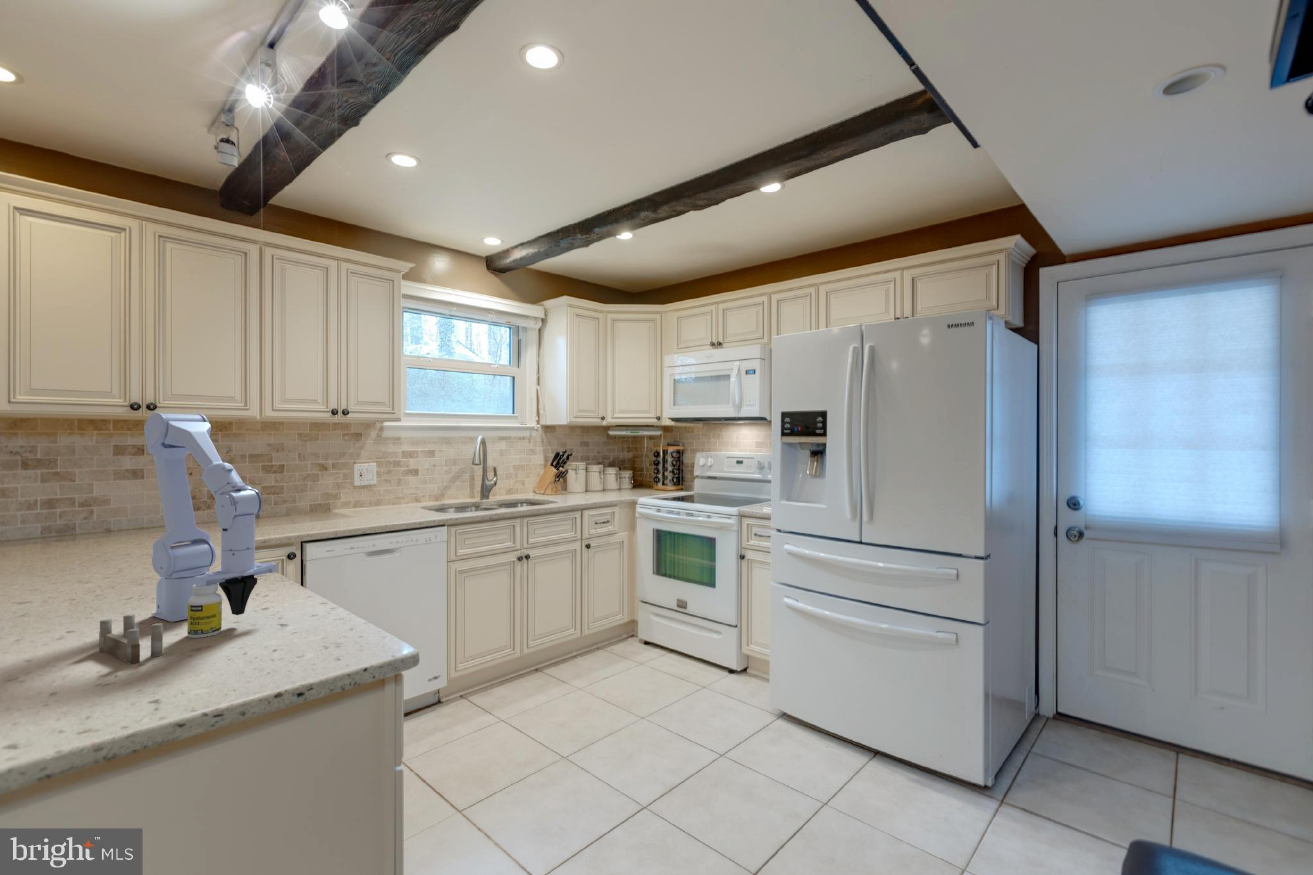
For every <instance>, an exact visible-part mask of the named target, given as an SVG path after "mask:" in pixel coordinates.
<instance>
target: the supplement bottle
mask: <svg viewBox="0 0 1313 875" xmlns="http://www.w3.org/2000/svg"><path fill="white" fill-rule="evenodd" d="M218 587H219V583H215V584H210V585H206V586H203V587H199V586H196V585H194V586H193V589H192V592H193V594H194V596H193V597H191V598H190V599H189V600H188V619H187V627H186V628H187V636H188V637H189V638H191V639H192V638H193V639H200V638H201V639H202V638H207V636H208V637H212V635H213V636H215V635H218V634H220V633H221V631H222V627H223V626H222V621H223V620H222V618H223V617H222V616H223V615H222V614H223V613H222V612H223V608H222V606H223V598H222V597H223V596H222V595H221V594H220V593H217V592H218V591H219V588H218Z"/></svg>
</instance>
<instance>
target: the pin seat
mask: <svg viewBox="0 0 1313 875" xmlns="http://www.w3.org/2000/svg"><path fill="white" fill-rule="evenodd" d="M122 619H123V621H122V622H123V630H122V631H123V632H122V633H123V636H120V635H118V634H115V633H113V628H112V627H113V626H112V624H113V620H112V618H111V619H110V618H107V619H102V620H100V621H99V634H98V635H99V636H98V637H99V638H98V641H99V643H98V644H99V645H98V646H99V647H98V651H99V653H105V654H107V655H110V656H112V657H115V658H117V659H120V660H122V661H124V662H126V664H132V665H133V664H138V663H140V662H141V658H140V657H141V654H140V653H141V643H140V628H136V626H135V625H136V614H134V613H132V614H131V613H130V614H126V615H125V614H124V615H123V618H122ZM163 624H164V623H162V622H161V623H159V622H158V623H154V624H151V625H150V657H151V658H157V657H161V656H162V655H163V654H164V653H163V644H164V642H163V633H164V632H163V631H164V629H163V628H164V627H163Z"/></svg>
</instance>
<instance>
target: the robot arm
mask: <svg viewBox="0 0 1313 875" xmlns="http://www.w3.org/2000/svg"><path fill="white" fill-rule="evenodd" d="M211 431H212V426H211V424H210V421H209V419H208V418H207V417H206V415H205V414H202V413H195V414H188V413H163V412H162V413H161V412H157V411H156V412H152V413H151V414H150V415H149V416H148V418H147V419H146V421H145V424H144V426H143V432H144V437H145V444H146V447H147V453H149V454H150V455H152V456H153V462H154V467H155V473H156V479H157V484H158V491H159V496H160V503H161V509H162V512H163V519H164V527H165V531H166V532H165V533H164V534H162V535H161V536H160V537H159V538H158V539H156V541H155V542H154V543H152V551H153V552H152V559H151V564H152V568H153V570H154V572H155V573H156V574H157V575H158V576H159V578H160V579H158V581H157V584H156V587H155V588H156V589H155V591H156V593H155V594H156V598H155V600H156V601H155V604H156V605H155V609H156V611H154V612H151V613H150V616H152V617H155V618H157V619H161V620H165V621H167V622H170V623H175V622H178V621H183V620H188V600H189V599H190V598H191V597H193V596H194V594H193V592H192V589H193V586H194V585H196V586H199V587H203V586H206V585H210V584H215V583H217V584H218V587H220V589H221V590H222V592H223V594H224V595H225V596H226V597H225V598H226V599H227V601H228V604H229V607H230V611H231V615H235V616H239V615H243V614H245V611H246V608H247V605H248V601H249V598H250V597H251V594H252V591H253V590H254V588H255V587H256V585H257V584H258V578H257V577H255V576H261V575H265V574H270V573H271V574H274V573H277V572H278V563H277V562H266V563H258V564H256V516H258V515H259V514H260V513H261V511H262V508H263V499H262V496H261V494H260V492H259V491H258V490H257V489H255V488H252V487H251V486H250V485H246V484H245V482H244V481H243V480H242V479H241V477H240V475H239V473H238V472H237V470H236V469H235V468H234V466H233V465H232V464H230V463H228V462H223V460H222V458H221V457H220V455H219V453H218V450H217V449H216V447H215V445H214V443H213V441H212V439H211V438H210V437H211ZM189 454H191V455H192V457H193V458H194V459H195V460H196V462H197V463H198V464H199V466H200V467H201V468H202V469H203V472H202V473H201V479H202V481H203V483H204V484H205V485H206V486H207V489H208V490H209V492H210V493H211V495H212V496H213V497H214V499H215V500H216V501H215V504H214V505H213V508H214V512H215V516H216V517H217V525H218V526H219V528H220V529H221V533H220V534H221V542H220V546H221V548H220V549H221V552H220V556H221V558H220V560H221V562H220V563H221V565H220V570H216V571H212V572H210V568H212V567H213V565H214V564H215V562H216V560H217V550H216V547H215V545H214V544H213V543H212V539H211V536H210V533H208V532H207V531H205V530H203V529H201V528H199V527H197V524H196V523H197V522H196V518H195V517H196V516H195V511H194V506H193V500H192V495H191V489H190V483H189V477H188V473H187V472H188V471H187V466H186V461H185V460H186V457H187V456H188V455H189Z"/></svg>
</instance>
